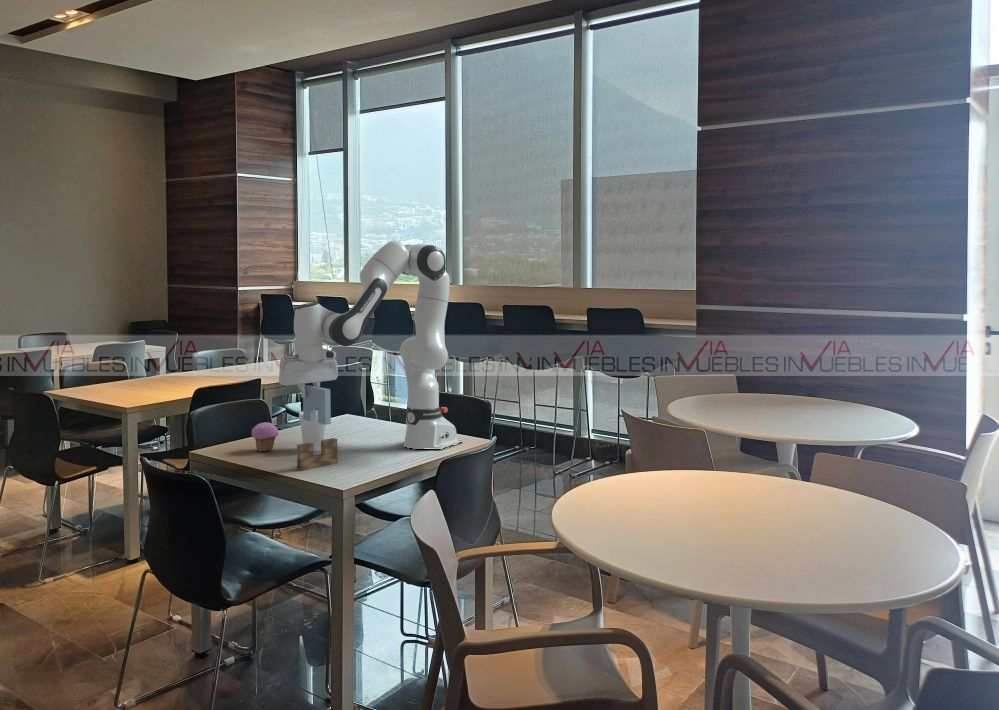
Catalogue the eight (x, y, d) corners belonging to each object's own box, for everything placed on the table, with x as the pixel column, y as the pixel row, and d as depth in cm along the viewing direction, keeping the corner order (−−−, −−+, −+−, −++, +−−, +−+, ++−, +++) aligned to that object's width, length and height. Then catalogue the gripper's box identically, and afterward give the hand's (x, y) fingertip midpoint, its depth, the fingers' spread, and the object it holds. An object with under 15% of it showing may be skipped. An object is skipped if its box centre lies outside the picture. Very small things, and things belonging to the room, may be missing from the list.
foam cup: (330, 446, 279) (330, 410, 277) (322, 452, 270) (321, 415, 268) (305, 445, 280) (304, 410, 278) (295, 451, 270) (295, 414, 269)
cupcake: (274, 446, 278) (273, 419, 277) (281, 451, 270) (281, 423, 269) (248, 449, 273) (247, 421, 272) (255, 454, 266) (255, 425, 264)
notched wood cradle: (334, 461, 257) (333, 438, 256) (337, 462, 256) (337, 438, 255) (297, 469, 247) (296, 444, 246) (301, 470, 245) (300, 445, 244)
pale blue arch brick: (303, 419, 253) (302, 385, 251) (308, 418, 254) (308, 385, 253) (325, 424, 245) (325, 389, 243) (330, 423, 246) (330, 389, 245)
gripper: (285, 357, 240) (286, 401, 241) (340, 352, 255) (340, 394, 257) (274, 355, 244) (275, 399, 246) (328, 350, 259) (329, 392, 261)
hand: (309, 396), depth 251 cm, fingers closed on pale blue arch brick, 2 cm apart
